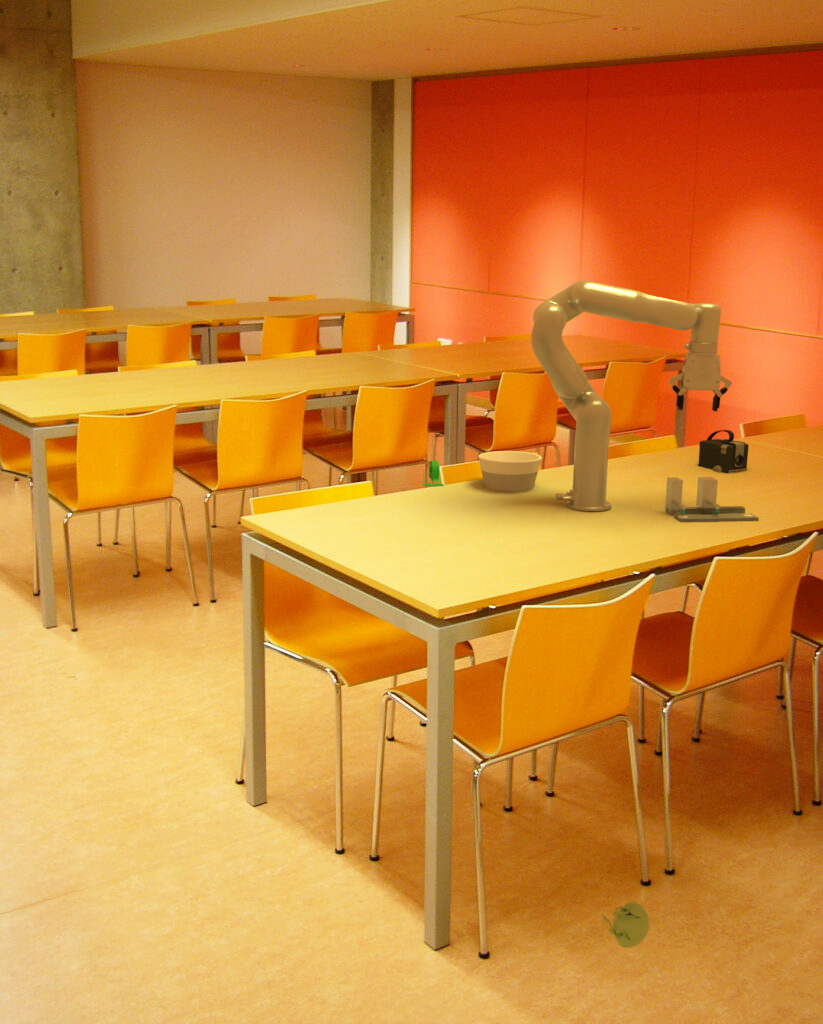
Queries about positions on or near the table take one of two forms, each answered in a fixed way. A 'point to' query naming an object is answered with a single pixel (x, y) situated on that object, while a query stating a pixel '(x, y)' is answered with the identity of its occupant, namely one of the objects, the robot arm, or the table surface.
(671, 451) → the table surface
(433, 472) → the mechanical part
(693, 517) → the gauge plate
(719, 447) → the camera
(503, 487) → the bowl
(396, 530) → the table surface
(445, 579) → the table surface
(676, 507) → the rail with fixed leg
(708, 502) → the sliding leg
